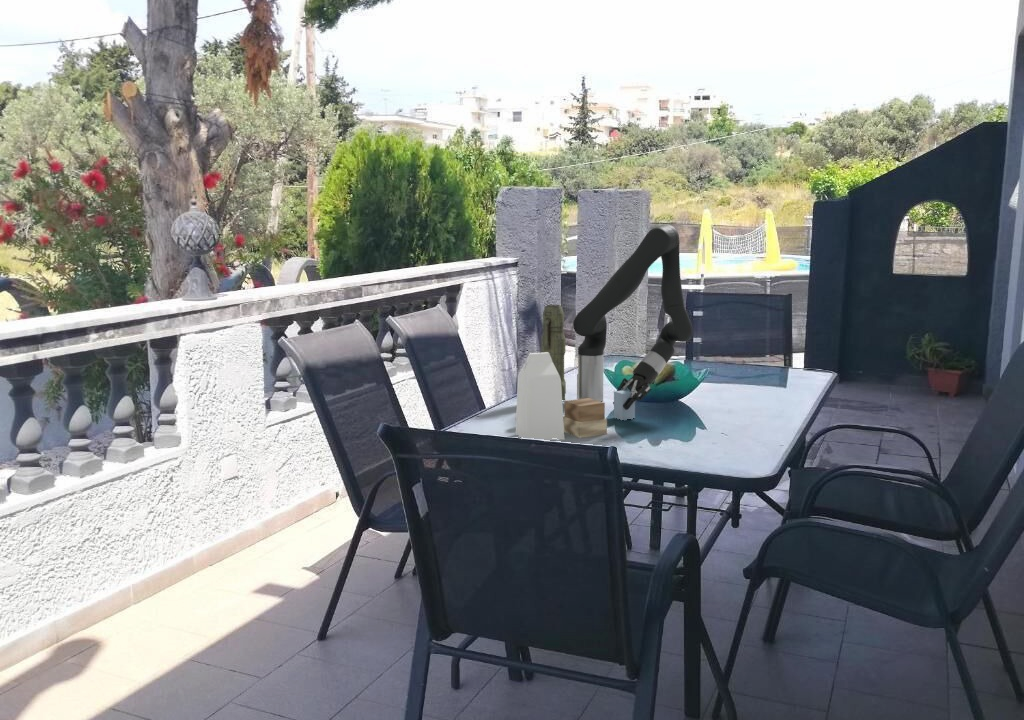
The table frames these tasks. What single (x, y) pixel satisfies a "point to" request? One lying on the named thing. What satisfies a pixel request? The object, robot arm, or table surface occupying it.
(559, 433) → the milk
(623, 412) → the slate block
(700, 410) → the table surface
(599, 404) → the tower top block
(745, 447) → the table surface
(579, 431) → the tower bottom block
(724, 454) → the table surface
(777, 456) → the table surface
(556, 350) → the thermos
